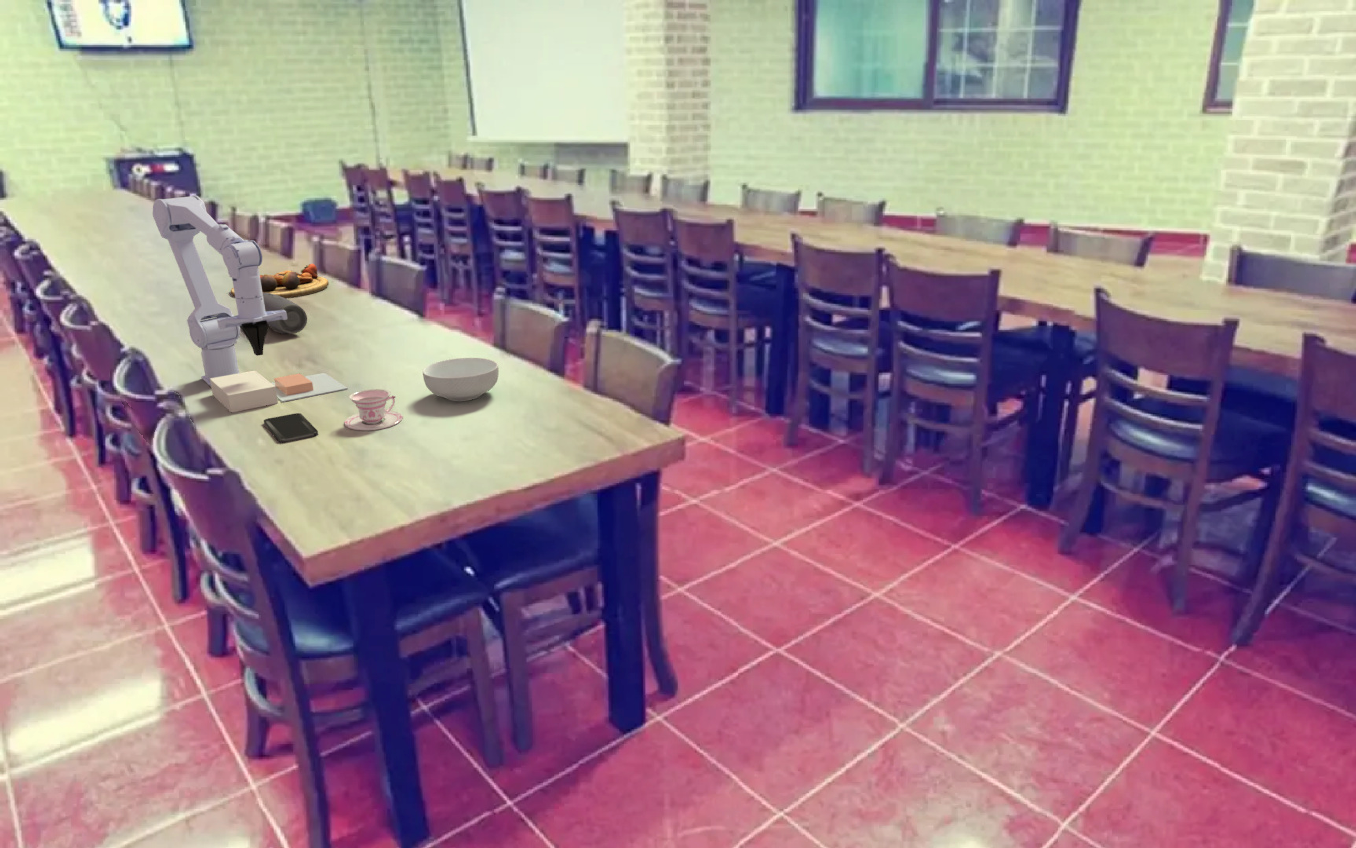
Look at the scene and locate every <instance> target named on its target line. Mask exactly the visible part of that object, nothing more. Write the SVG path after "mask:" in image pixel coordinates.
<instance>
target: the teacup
mask: <svg viewBox="0 0 1356 848" xmlns="http://www.w3.org/2000/svg"><path fill="white" fill-rule="evenodd" d="M391 393H392V392H391V391H389V390H387V389H379V388H378V389H377V388H376V389H373V388H372V389H364V390H360V391H355V392H353V393H352V394H350V395H348V398H349V399H350V400H351V401H352V402H353V404H355V406H356V408H357V409H358V413H355V414H353V415H350V416H349V417H347V418H346V419H345V420H344V422H343V423H344V426H345V427H346V428H347V429H349V430H354V431H362V432H363V431H376V430H383V429H386V428H391V427H393V426H395V425H398V424H399V423H400V422H402V420H403V419H404V417H403V415H402V413H399V412H398V411H394V410H392V409H393V408H394V406H395V402H396V401H395V398H396V396H394V395H392V396H391ZM390 400H392V404H391V405H390V407H389V408H388V409H386V404H387V402H388V401H390ZM383 419H384V421H383ZM382 421H383V422H382ZM363 422H365V423H363ZM381 422H382V423H381Z"/></svg>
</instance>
